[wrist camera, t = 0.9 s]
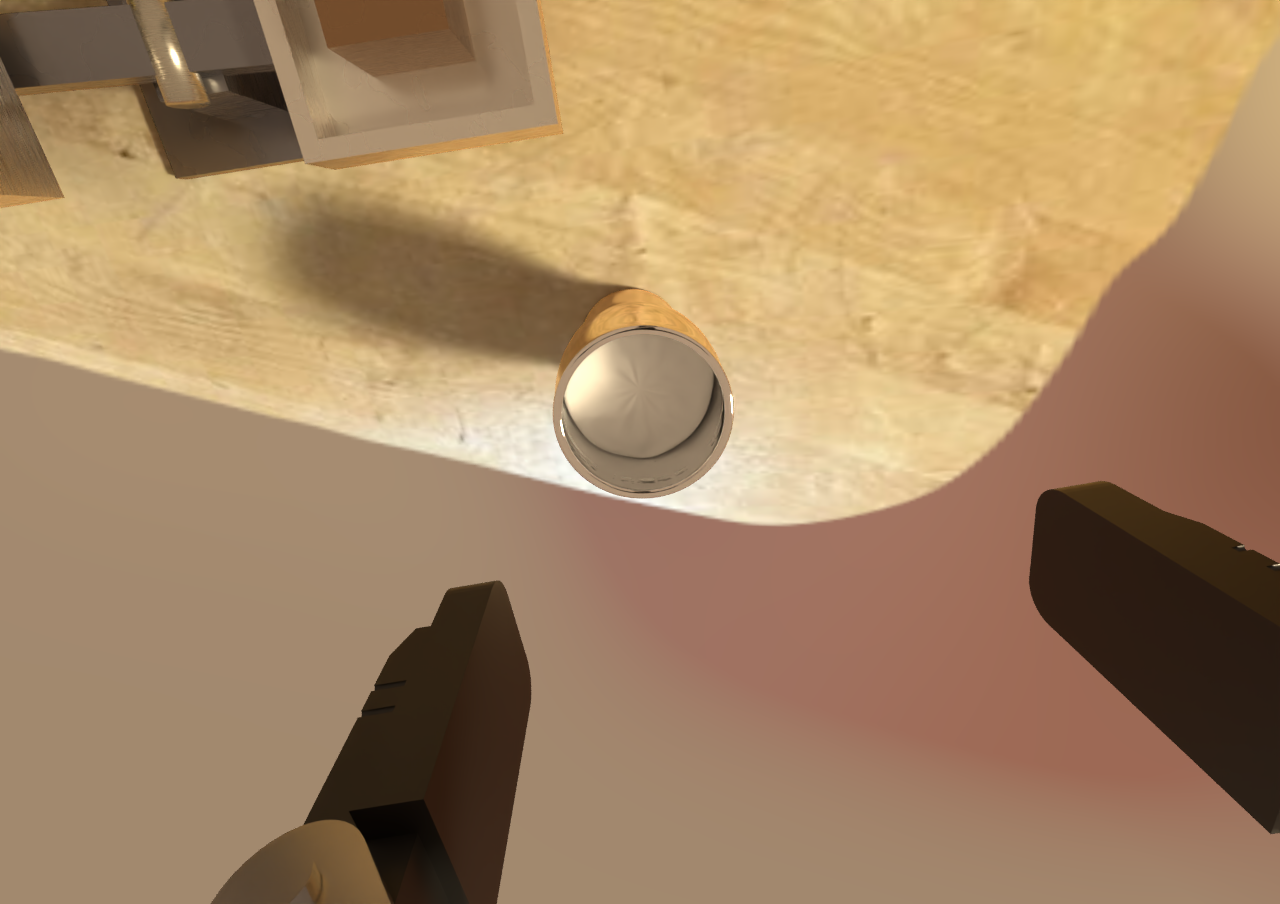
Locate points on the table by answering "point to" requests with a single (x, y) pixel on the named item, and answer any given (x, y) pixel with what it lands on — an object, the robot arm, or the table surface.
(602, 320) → the beer glass
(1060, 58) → the table surface
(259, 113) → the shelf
